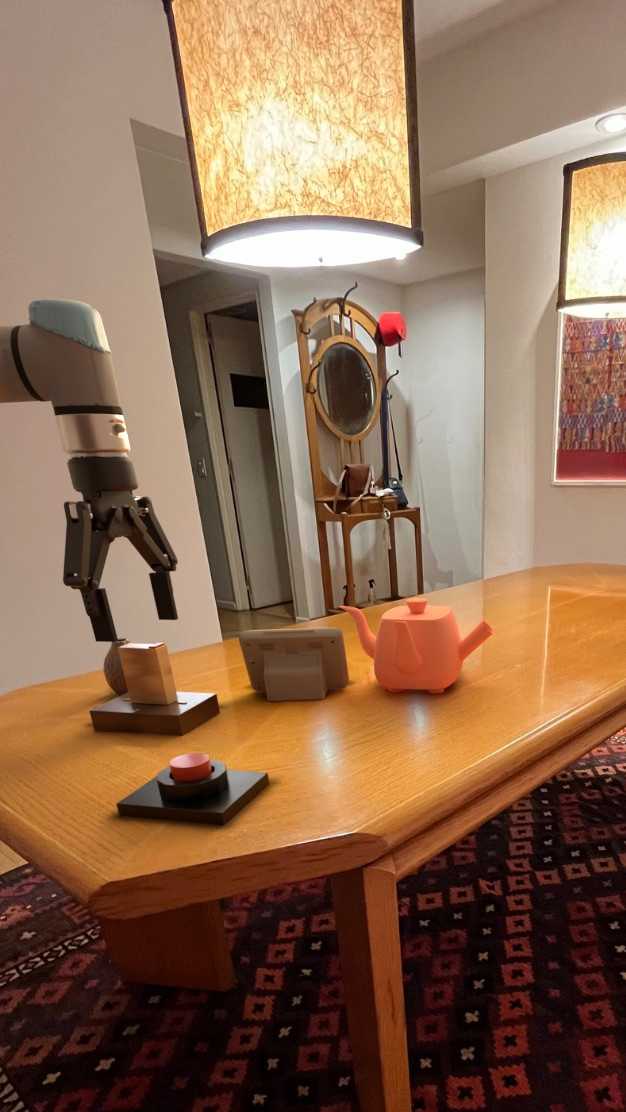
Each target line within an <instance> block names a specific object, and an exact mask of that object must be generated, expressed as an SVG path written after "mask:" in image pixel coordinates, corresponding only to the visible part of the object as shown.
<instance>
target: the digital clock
mask: <svg viewBox="0 0 626 1112" xmlns="http://www.w3.org/2000/svg"><path fill="white" fill-rule="evenodd" d="M238 642H239V646H240V649H241V654H242V656H243V660H244V664H245V669H246V672H247V675H248V679H249V683H250V687H251V689H252V690H253V691H255V692H258V693H262V692H263V693H265V694H266V699H267V702H288V701H289V702H290V701H312V700H313V701H314V700H315V701H316V700H317V701H319V700H324V699H325V697H326V696H327V693H328V691H329V690H342V689H345V688H347V687H348V686H349V684H350V676H349V669H348V661H347V654H346V648H345V647H346V646H345V639H344V634H343V631H342V630H341V628H338V627H337V628H336V627H307V628H305V627H304V628H275V629H272V628H271V629H249V630H243V631H240V632H239V634H238Z"/></svg>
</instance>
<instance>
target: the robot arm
mask: <svg viewBox="0 0 626 1112" xmlns="http://www.w3.org/2000/svg"><path fill="white" fill-rule="evenodd" d="M27 309H28V310H27V311H28V320H29V323H27V324H26V323H24V324H22V325H21V324H20V325H0V404H11V403H27V402H28V403H29V402H30V403H31V402H43V403H44V402H51V405H52V409H53V413H54V418H55V422H56V426H57V431H58V434H59V439H60V442H61V446H62V451H63V452H64V453H66V454H67V455H69V457H70V458H69V459H67V462H66V464H67V470H68V472H69V476H70V480H71V484H72V487H73V489H74V491H76V492H77V493H81V496H82V500H75V501H74V500H72V501H70V500H69V501H64V502H63V509H64V510H63V511H64V515H65V521H66V526H65V528H66V529H65V543H64V558H63V573H62V583H63V584H64V586H66V587H70V588H71V589H72V590H79V592H80V595H81V599H82V602H83V603H82V604H83V606H84V610H85V613H86V615H87V617H89V621H90V624H91V628H92V631H93V635H94V640H95V642H97V643H100V642H101V643H102V642H104V643H106V642H107V643H112V642H116V641H118V639H119V638H118V635H117V631H116V627H115V622H114V618H113V613H112V610H111V607H110V603H109V599H108V594H107V590H106V588H105V587H100V585H101V580H102V577H103V573H104V569H105V565H106V562H107V558H108V553H109V550H110V546H111V544H112V543H114V541H115V540H116V539H117V538H122V537H123V538H126V539H127V540H128V541H129V542H130V544H131V545H132V547H134V549H135V550H136V551H137V552H138V554H139V555H140V557H142V559H143V560H144V561H145V563H146V564H147V565H148V567H149V568H150V569H151V570H152V571H153V572H148V577H149V580H150V581H149V582H150V586H151V590H152V595H153V599H154V604H155V607H156V612H157V617H158V620H159V621H176V620H177V621H178V620H179V616H178V610H177V605H176V601H175V596H174V587H173V583H172V577H171V573H170V572H176V571H177V565H178V564H179V563H178V562H179V561H178V560H179V559H178V557H177V556H176V555H177V554H176V553H175V552H174V550H173V547H172V545H171V544H170V542H169V539H168V537H167V535H166V533H165V531H164V529H163V527H162V525H161V523H160V521H159V520H158V517H157V515H156V514H155V510H154V506H153V502H152V499H151V497H150V496H148V495H147V496H145V495H144V496H134V494H133V491H135V490H138V489H139V481H138V476H137V472H136V466H135V463H134V460H132V457H128V455H127V453H130V452H131V446H130V441H129V436H128V432H127V428H126V424H125V423H126V422H125V418H124V412H123V409H122V403H121V399H120V393H119V388H118V384H117V377H116V373H115V367H114V363H113V358H112V356H113V353H112V350H111V349H110V345H109V342H108V338H107V335H106V331H105V327H104V322H103V320H102V317H101V314H100V312H98V311H97V309H96V308H95V307H94V306H92V305H91V304H88V303H86V302H84V301H78V300H73V299H66V298H42V299H41V300H40V299H36V300H33V301H31V302H30V303H29V304H28V307H27Z"/></svg>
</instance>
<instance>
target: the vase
mask: <svg viewBox="0 0 626 1112" xmlns="http://www.w3.org/2000/svg"><path fill="white" fill-rule="evenodd" d="M129 643H131V641H130V640H129V639H128V638H126V637H125V638H118V641H116V642H111V643H110V647H109V650H108V651H107V653H106V655H105V657H104V659H103V660H104V661H103V675H104V678H105V680H106V683H107V685H108V686H109V688H110V689H111V690H112V691H113V692H114V693H115V694H117V695H119V696H121V695H123V694H126V693H128V688H127V684H126V680H125V676H124V671H123V667H122V663H121V659H120V655H119V651H118V647H121V646H123V645H126V644H129Z"/></svg>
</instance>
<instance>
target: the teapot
mask: <svg viewBox="0 0 626 1112" xmlns="http://www.w3.org/2000/svg"><path fill="white" fill-rule="evenodd" d="M405 602H406V605H399V606H395V607H393V608H391V609H388V610H387V611H385V612H384V613H383V614H382V616H381V618H380V621H379V624H378V629H377V632H376V636H375V634H373V633H372V631H371V630H370V627H369V625H368V622H367V620H366V617H365V615H364V613H363V612H362V611H361V609H359V608H357V607H354V606H348V605H339V608H341V610H344V611H345V612H346V613H348V615H349V616H350V617H351V618H352V620H353V622H354V625H355V628H356V632H357V635H358V640H359V643H360V646H361V648H362V650H363V651H364V653H365V654H366V655H367V656H368V657H369V658H370V659H372V660H373V672H374V676H375V679H376V680H377V682H378V684H379V686H380V687H382V688H386V689H388V691H389V692H391V693H400V692H404V691H405V690H427V692H428V693H429V694H441V693H444V692H445V689H446V688H448V687H450V686H451V685H452V684H454V683H455V681H457V679H458V678H459V675H461V671H462V669H463V665H464V661H465V660H466V659H467V658H468V657H469V656H470V655H471V654H473V652H474V651H476V650H477V649H478V648H479V647H480V646H481V645H482V644H483V643H485V642H486V641H487V640H488V639H489V638H490V637H491V636H492V635H493V634H494V633H495V631H494V629H493V627H491V626H490V624H489V623H487V622H486V621H485V620H481V621H480V622H479V623H478V624H477V625H476V626H475V627H474V628H473V629H472V630H471V631H470V632H469V633H468V634H467V635H466V636H465V637H464V639H462V638H461V634H460V630H459V627H458V623H457V620H456V616H455V614H454V611H453V609H452V608H451V607H450V606H447V605H427V604H428V599H427V598H424V597H412V598H408V599H406V601H405Z"/></svg>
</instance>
